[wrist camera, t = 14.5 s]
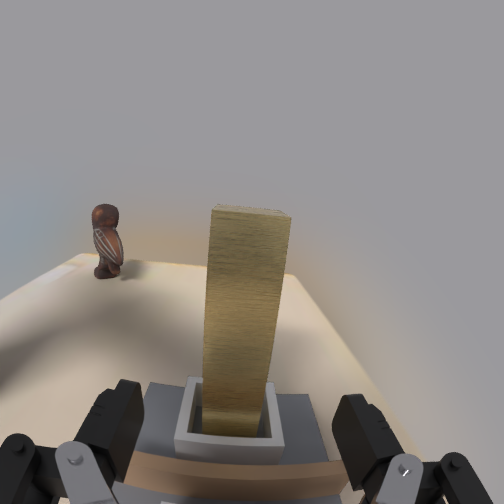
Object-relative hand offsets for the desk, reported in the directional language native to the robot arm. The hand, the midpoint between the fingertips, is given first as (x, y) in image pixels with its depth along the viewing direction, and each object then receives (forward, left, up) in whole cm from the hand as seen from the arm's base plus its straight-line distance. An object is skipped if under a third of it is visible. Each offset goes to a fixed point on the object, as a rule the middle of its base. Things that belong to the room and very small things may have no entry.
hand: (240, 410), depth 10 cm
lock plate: (-1, +1, -12) cm, 12 cm away
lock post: (-5, +7, -11) cm, 14 cm away
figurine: (-47, +21, -12) cm, 53 cm away
